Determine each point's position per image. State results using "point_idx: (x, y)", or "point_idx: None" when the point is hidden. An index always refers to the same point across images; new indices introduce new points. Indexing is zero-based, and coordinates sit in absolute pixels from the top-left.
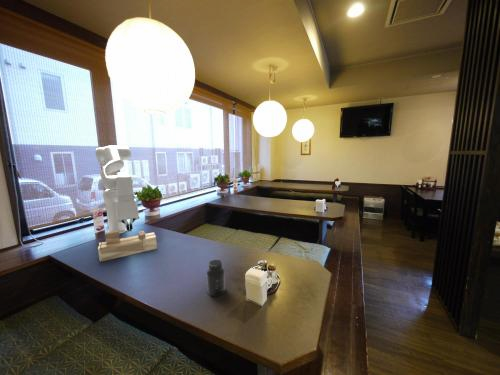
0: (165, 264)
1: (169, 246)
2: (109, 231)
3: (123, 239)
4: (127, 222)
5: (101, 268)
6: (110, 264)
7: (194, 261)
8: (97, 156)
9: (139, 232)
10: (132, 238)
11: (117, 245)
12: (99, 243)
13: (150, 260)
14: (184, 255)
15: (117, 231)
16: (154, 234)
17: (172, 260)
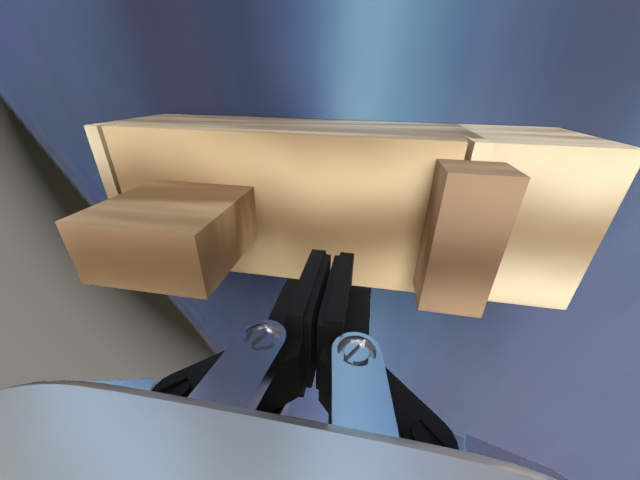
0: (459, 420)
1: (605, 267)
2: None
3: (281, 177)
4: (280, 385)
5: (214, 292)
6: (245, 279)
7: (569, 468)
8: None
9: (450, 222)
10: (362, 206)
11: (246, 269)
12: (91, 145)
13: (418, 357)
14: (579, 413)
15: (189, 277)
16: (598, 237)
17: (501, 414)
